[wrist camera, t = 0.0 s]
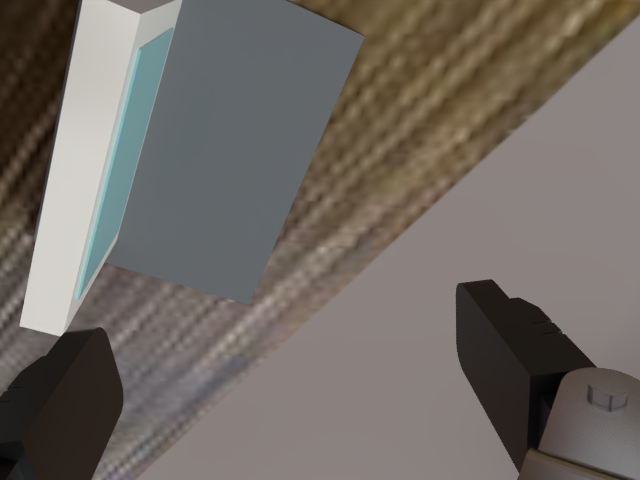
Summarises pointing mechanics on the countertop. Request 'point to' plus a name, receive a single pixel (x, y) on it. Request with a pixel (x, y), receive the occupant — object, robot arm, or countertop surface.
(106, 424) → the robot arm
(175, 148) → the rubber mat
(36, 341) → the countertop surface
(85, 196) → the flat white box
